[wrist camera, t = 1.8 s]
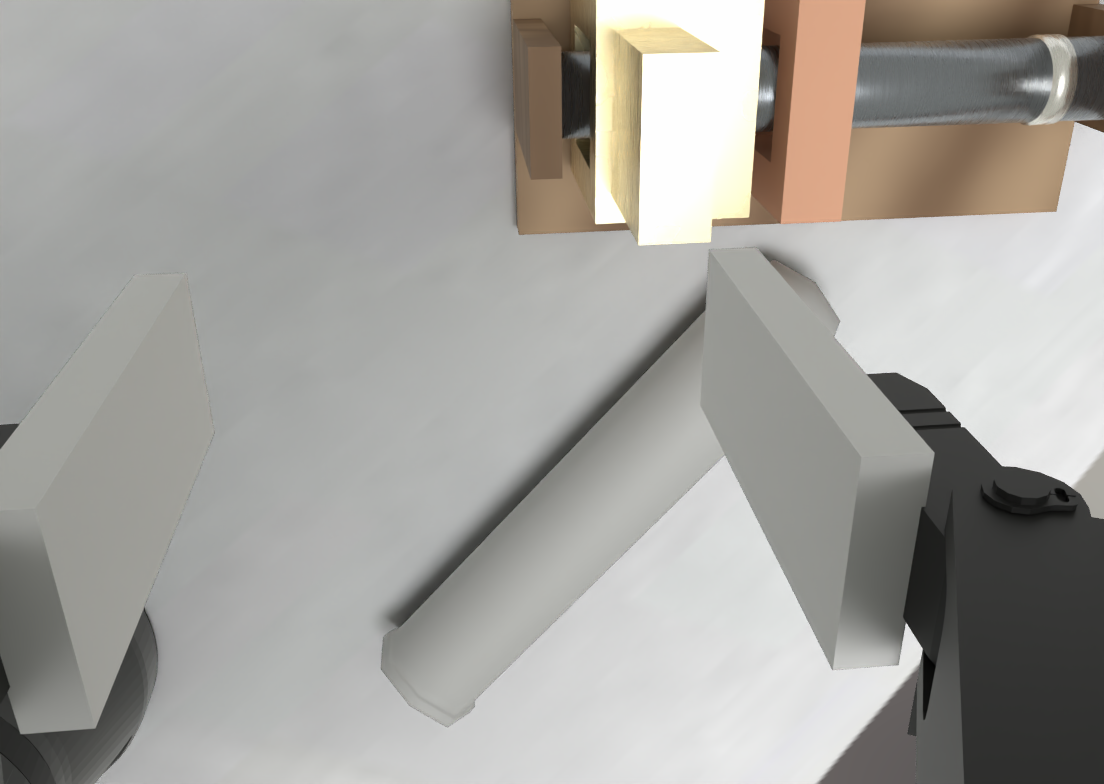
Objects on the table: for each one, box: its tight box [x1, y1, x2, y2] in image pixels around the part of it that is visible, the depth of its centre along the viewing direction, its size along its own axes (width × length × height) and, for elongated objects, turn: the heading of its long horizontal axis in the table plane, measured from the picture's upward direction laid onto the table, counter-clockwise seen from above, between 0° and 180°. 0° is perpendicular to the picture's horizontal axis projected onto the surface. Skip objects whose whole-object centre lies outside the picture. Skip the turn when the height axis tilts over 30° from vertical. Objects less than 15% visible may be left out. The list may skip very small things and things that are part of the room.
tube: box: [381, 260, 840, 727], centre depth 45 cm, size 5×5×25 cm
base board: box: [511, 0, 1104, 235], centre depth 36 cm, size 22×12×8 cm, turn 91°
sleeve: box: [570, 0, 765, 245], centre depth 33 cm, size 5×7×12 cm
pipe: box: [561, 34, 1104, 139], centre depth 36 cm, size 21×3×3 cm, turn 91°
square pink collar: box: [751, 0, 866, 224], centre depth 35 cm, size 2×7×7 cm, turn 1°
